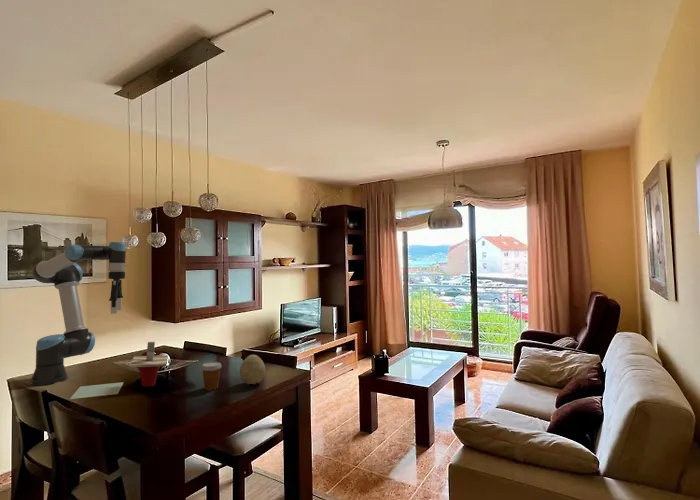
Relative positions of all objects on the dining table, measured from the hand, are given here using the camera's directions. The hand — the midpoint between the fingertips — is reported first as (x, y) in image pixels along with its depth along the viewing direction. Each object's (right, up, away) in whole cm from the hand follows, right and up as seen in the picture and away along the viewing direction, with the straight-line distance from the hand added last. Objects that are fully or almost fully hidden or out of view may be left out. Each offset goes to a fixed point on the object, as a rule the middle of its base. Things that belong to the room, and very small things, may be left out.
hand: (116, 311), depth 203 cm
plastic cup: (+20, -37, -6) cm, 42 cm away
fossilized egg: (+72, -37, -2) cm, 81 cm away
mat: (0, -36, -14) cm, 39 cm away
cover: (+20, -25, -5) cm, 32 cm away
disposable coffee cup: (+53, -37, -9) cm, 65 cm away
